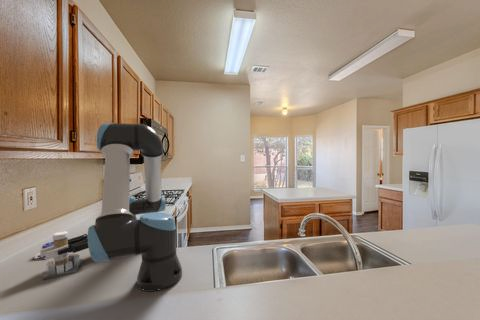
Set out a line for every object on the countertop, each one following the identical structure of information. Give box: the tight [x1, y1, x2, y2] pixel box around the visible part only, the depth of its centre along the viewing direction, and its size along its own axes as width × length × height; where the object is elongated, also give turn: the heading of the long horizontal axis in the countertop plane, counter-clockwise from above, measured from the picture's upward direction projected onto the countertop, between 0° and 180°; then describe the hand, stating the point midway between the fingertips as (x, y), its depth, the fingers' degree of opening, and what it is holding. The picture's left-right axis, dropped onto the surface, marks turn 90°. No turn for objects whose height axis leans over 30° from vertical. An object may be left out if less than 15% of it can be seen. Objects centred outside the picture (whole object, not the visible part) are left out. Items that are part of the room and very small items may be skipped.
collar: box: [42, 253, 83, 280], centre depth 84 cm, size 10×10×4 cm
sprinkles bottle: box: [52, 230, 70, 264], centre depth 84 cm, size 5×5×13 cm
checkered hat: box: [33, 241, 54, 260], centre depth 99 cm, size 12×12×5 cm
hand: (43, 254), depth 79 cm, fingers closed on sprinkles bottle, 4 cm apart
